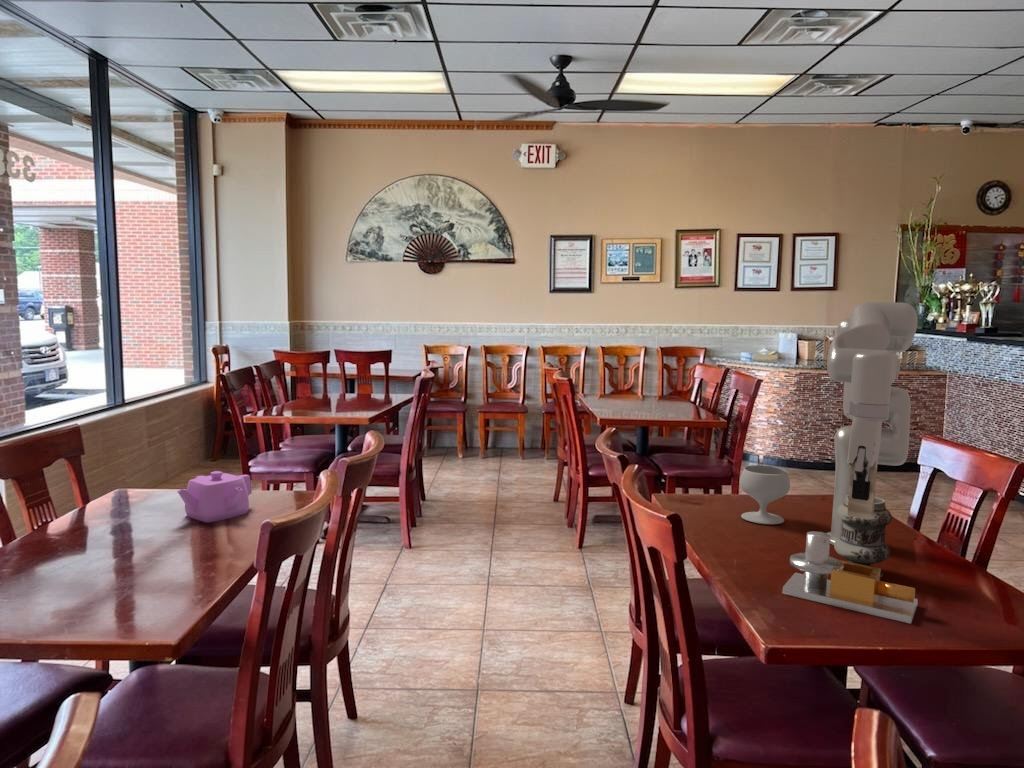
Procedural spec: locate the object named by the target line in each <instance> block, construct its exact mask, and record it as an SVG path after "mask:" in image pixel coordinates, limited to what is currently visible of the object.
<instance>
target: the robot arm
mask: <svg viewBox="0 0 1024 768" xmlns="http://www.w3.org/2000/svg"><path fill="white" fill-rule="evenodd" d="M849 317H850V318H849ZM849 317H848V318H845V319H842V320H840V322H839V323H838V325H837V329H836V336H835V337H834V338H833V339H832V341H830V344H829V348H828V353H827V360H826V361H827V362H826V366H827V367H826V370H827V374H828V377H829V378H830V379H831V380H833V381H834V382H838V383H844V384H843V394H842V411H843V415H844V416H845V417H846V418H847V419H849V420H852V423H851V425H846V426H842V427H841V426H840V428H838V429H837V430H836V432H835V435H834V440H833V444H834V445H833V446H834V456H835V458H834V459H835V468H834V469H835V472H834V473H835V474H834V487H833V488H834V491H833V503H832V514H831V515H832V517H831V527H830V528H831V529H830V530H831V531H828V532H825V533H826V534H829V535H830V545H832V546H834V543H835V541H836V540H837V539H838V538H840V535H841V526H842V519H840V518H839V516H838V514H837V509H838V507H839V506H840V505H841V504H843V503H844V501H845V498H846V496H847V495H849V486H850V472H851V463H852V464H853V463H854V462H855V470H854V479H853V487H852V498H853V499H859V500H866V501H867V500H868V499H869V491H870V482H869V473H870V467H872V466H874V463H875V462H876V461H877V460H878V462H877V465H882V466H883V465H885V466H894V467H895V466H901V465H904V464H905V463H906V461H907V459H908V455H909V448H910V447H909V445H910V431H911V430H910V428H911V411H912V408H911V406H912V405H911V397H910V394H909V391H907V390H906V389H904V388H902V387H898V386H892V384H893V383H894V382H895V380H896V379H898V378H899V376H900V371H901V360H900V358H899V357H898V356H897V354H896V353H903V352H905V351H907V350H909V349H910V347H911V346H912V343H913V341H914V337H915V334H916V332H917V328H918V314H917V311H916V310H915V307H914V306H912V304H910V303H907V302H892V301H891V302H890V301H889V302H888V301H887V302H885V301H868V302H862V303H860V304H858V305H856V306H855V307H854V308H853V309H852V311H851V313H850V316H849ZM883 423H884V424H887V425H888V426H889V427H888V428H886V427H882V426H883ZM855 458H856V461H854V460H855ZM867 461H868V463H867ZM864 463H866V464H867V465H868V466H864ZM864 469H866V471H865V470H864Z"/></svg>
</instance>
